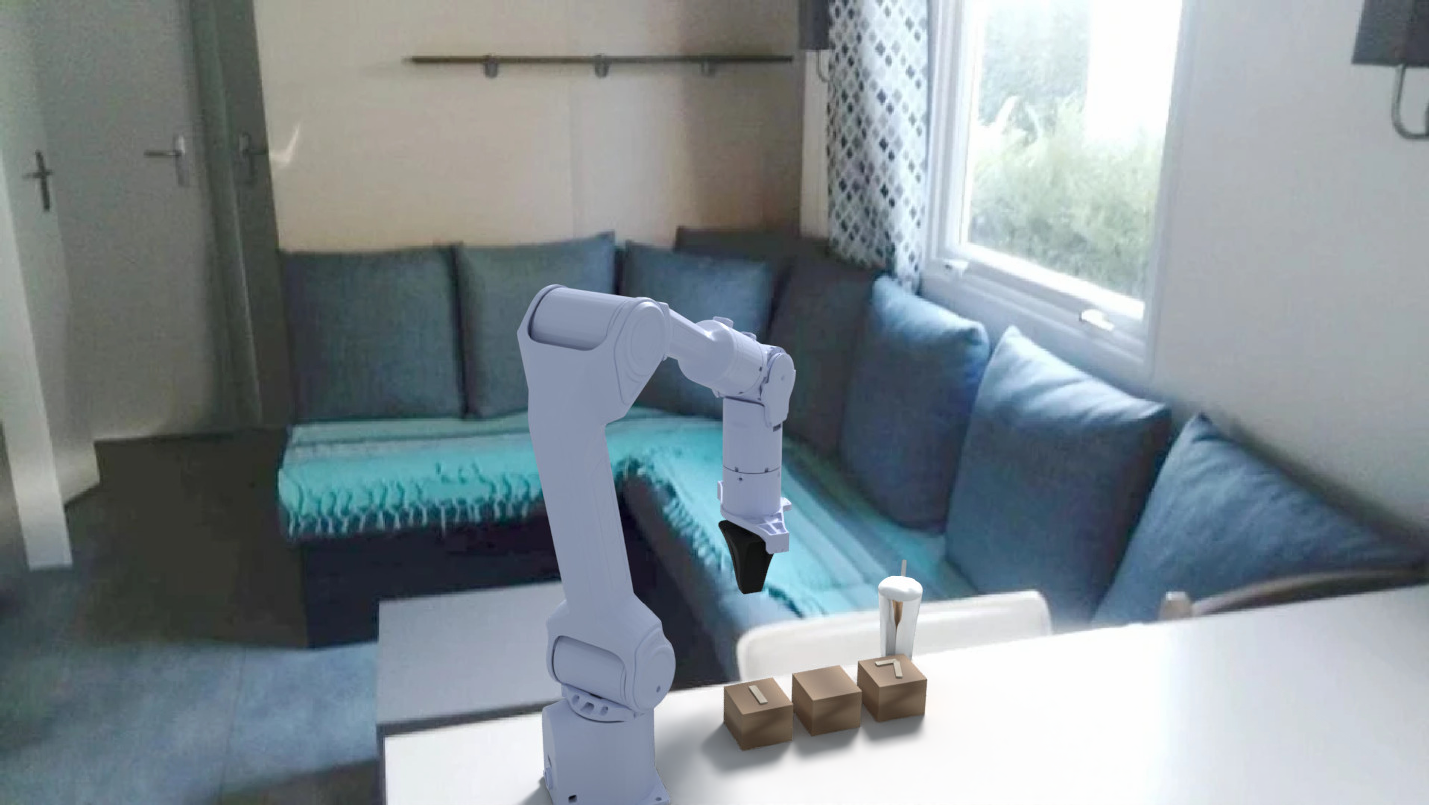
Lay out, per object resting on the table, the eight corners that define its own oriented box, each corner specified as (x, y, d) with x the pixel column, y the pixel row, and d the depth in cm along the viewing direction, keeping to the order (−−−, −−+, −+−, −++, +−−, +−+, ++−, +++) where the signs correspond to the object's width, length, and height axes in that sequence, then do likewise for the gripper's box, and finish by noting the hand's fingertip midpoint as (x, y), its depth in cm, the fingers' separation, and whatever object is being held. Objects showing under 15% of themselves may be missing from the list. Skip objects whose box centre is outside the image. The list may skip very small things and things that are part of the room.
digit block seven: (877, 724, 110) (879, 685, 109) (856, 696, 114) (857, 659, 113) (924, 715, 111) (927, 677, 110) (901, 688, 116) (903, 652, 115)
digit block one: (742, 752, 105) (742, 713, 104) (723, 723, 110) (723, 685, 109) (792, 742, 107) (793, 703, 106) (771, 713, 111) (772, 675, 110)
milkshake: (921, 647, 124) (926, 562, 120) (915, 672, 119) (921, 584, 116) (878, 641, 125) (883, 557, 122) (871, 665, 120) (876, 578, 117)
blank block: (811, 737, 108) (813, 700, 106) (791, 709, 112) (792, 673, 111) (860, 728, 109) (861, 691, 108) (837, 700, 114) (839, 665, 112)
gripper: (820, 484, 106) (816, 616, 110) (762, 435, 119) (760, 555, 123) (749, 493, 104) (747, 628, 108) (698, 443, 117) (698, 564, 121)
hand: (750, 590), depth 115 cm, fingers closed
